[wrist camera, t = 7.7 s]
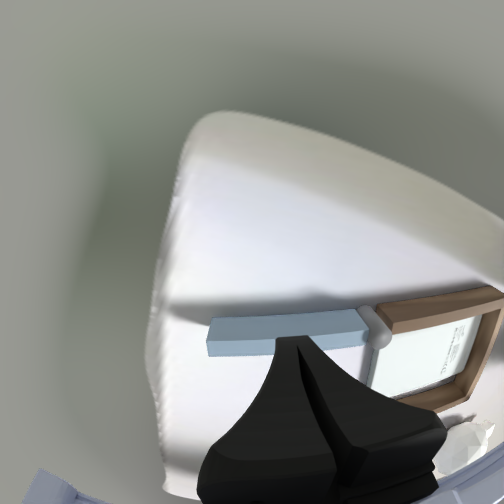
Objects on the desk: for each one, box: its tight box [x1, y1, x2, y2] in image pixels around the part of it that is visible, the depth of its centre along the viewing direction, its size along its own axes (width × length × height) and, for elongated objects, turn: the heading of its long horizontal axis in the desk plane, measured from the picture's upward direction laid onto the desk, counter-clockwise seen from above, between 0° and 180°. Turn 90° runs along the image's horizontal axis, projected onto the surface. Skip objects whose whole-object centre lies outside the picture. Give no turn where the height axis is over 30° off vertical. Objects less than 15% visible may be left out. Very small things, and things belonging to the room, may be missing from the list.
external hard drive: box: [366, 314, 482, 397], centre depth 21 cm, size 2×8×12 cm
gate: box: [206, 305, 392, 357], centre depth 17 cm, size 12×2×4 cm, turn 93°
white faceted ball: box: [434, 420, 495, 476], centre depth 22 cm, size 9×9×12 cm
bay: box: [376, 285, 504, 414], centre depth 19 cm, size 14×16×4 cm
